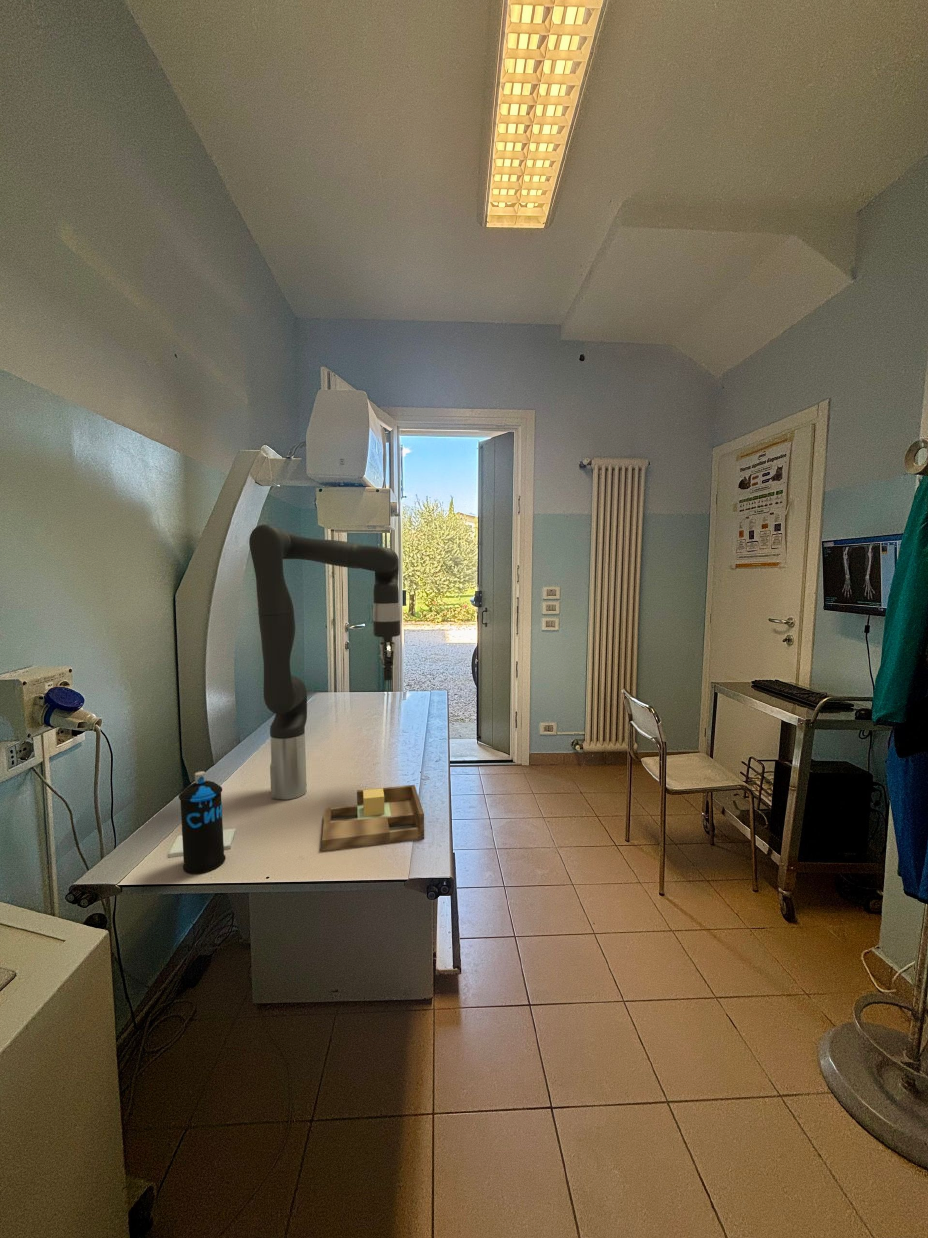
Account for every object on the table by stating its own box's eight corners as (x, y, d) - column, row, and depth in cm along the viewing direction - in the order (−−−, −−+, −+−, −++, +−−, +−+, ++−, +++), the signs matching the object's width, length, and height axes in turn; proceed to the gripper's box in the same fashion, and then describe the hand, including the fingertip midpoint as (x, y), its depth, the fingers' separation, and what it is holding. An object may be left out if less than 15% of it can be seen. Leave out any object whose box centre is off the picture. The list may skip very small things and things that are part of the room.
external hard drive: (178, 841, 118) (236, 833, 122) (169, 860, 110) (230, 851, 114) (178, 834, 118) (235, 827, 122) (168, 853, 110) (230, 844, 114)
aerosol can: (177, 863, 108) (172, 773, 106) (217, 849, 114) (213, 763, 112) (189, 879, 102) (184, 784, 101) (231, 863, 108) (227, 773, 106)
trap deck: (322, 851, 113) (321, 825, 112) (325, 816, 129) (324, 793, 129) (424, 838, 118) (424, 813, 117) (414, 806, 134) (414, 784, 134)
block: (364, 816, 124) (363, 798, 123) (363, 807, 129) (363, 790, 128) (384, 814, 125) (384, 796, 124) (383, 805, 130) (382, 788, 129)
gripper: (402, 620, 136) (403, 684, 137) (397, 617, 149) (398, 675, 150) (374, 621, 134) (375, 685, 136) (372, 617, 147) (373, 676, 149)
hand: (387, 679), depth 143 cm, fingers closed
